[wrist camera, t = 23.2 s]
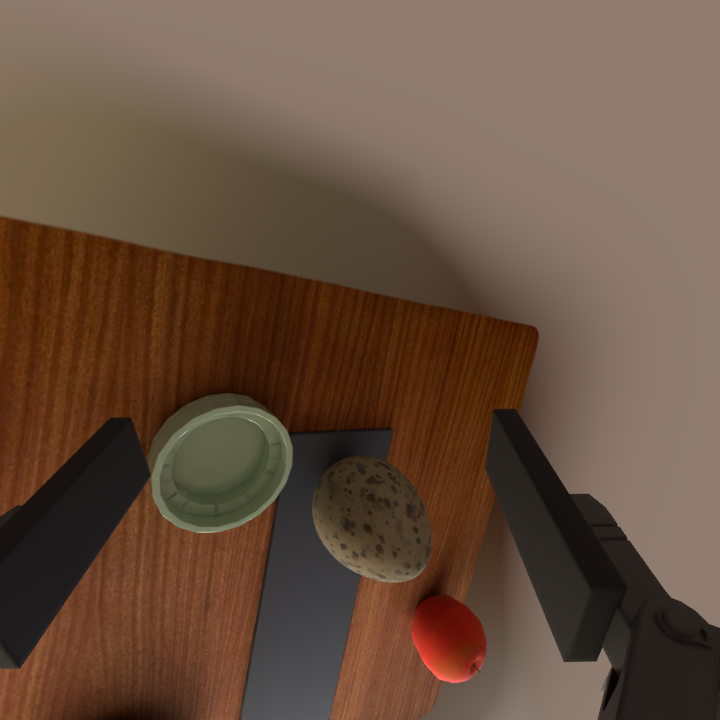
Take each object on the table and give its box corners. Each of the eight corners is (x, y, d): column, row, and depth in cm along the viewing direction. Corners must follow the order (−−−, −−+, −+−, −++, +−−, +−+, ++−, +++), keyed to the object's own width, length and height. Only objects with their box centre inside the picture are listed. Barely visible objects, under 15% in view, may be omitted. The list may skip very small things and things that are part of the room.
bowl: (231, 365, 37) (243, 378, 34) (298, 446, 43) (314, 463, 40) (113, 456, 33) (115, 480, 30) (205, 529, 40) (215, 555, 36)
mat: (288, 432, 42) (290, 434, 41) (390, 428, 50) (393, 429, 49) (228, 781, 50) (229, 786, 50) (323, 730, 58) (325, 734, 58)
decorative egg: (334, 534, 49) (412, 633, 36) (274, 498, 42) (344, 603, 30) (388, 464, 50) (479, 536, 38) (338, 420, 44) (427, 489, 32)
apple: (401, 648, 64) (452, 719, 54) (400, 602, 60) (455, 669, 51) (447, 615, 69) (501, 675, 59) (448, 571, 65) (506, 627, 56)
